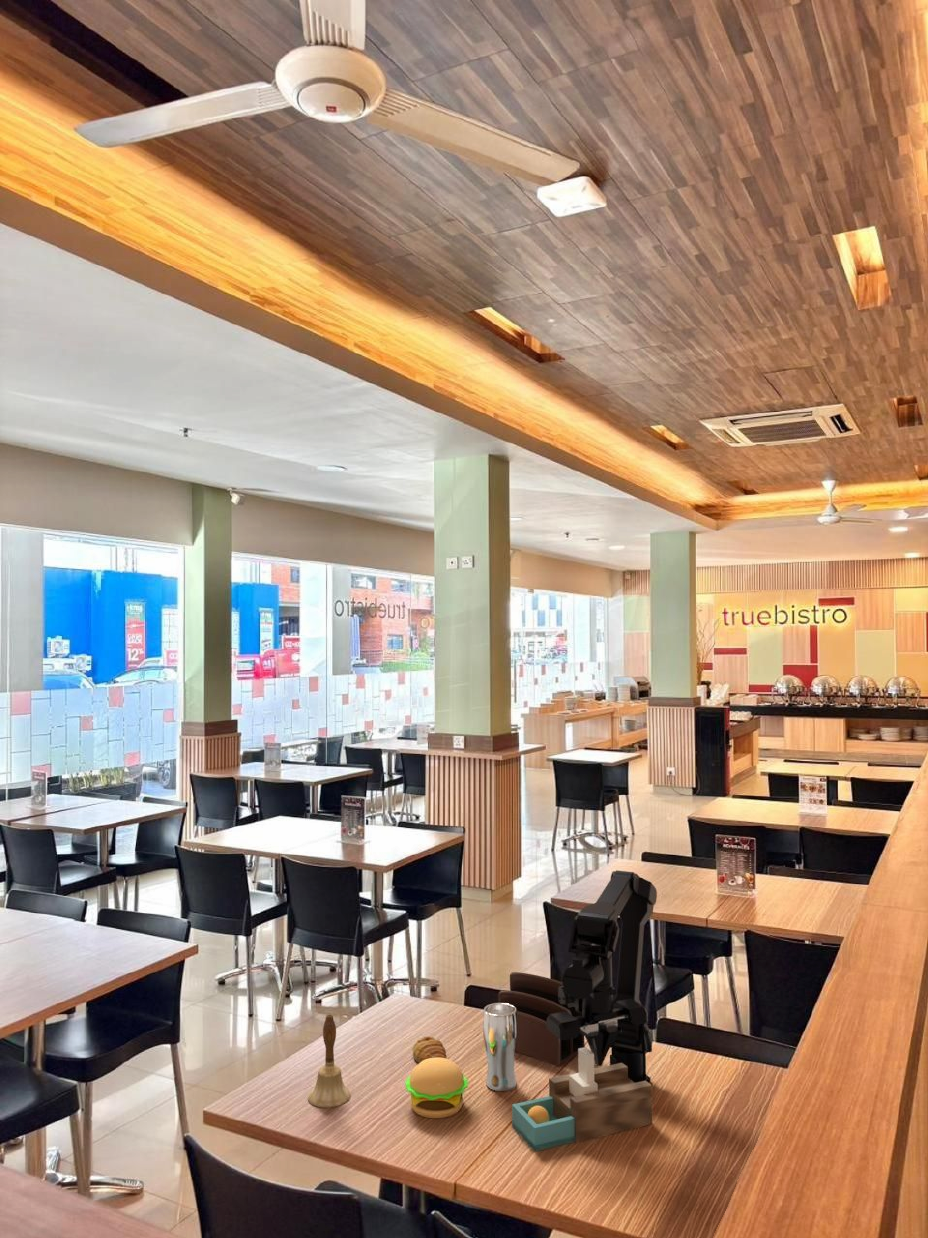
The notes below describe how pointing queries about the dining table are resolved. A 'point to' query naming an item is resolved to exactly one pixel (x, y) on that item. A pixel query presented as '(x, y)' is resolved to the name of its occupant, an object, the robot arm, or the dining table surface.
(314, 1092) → the hand bell
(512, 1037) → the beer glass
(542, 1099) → the teal open box
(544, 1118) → the ball
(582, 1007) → the robot arm
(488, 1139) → the dining table surface
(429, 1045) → the pastry
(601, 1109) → the launcher deck
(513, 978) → the letter holder
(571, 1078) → the white offset block
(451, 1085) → the hamburger
